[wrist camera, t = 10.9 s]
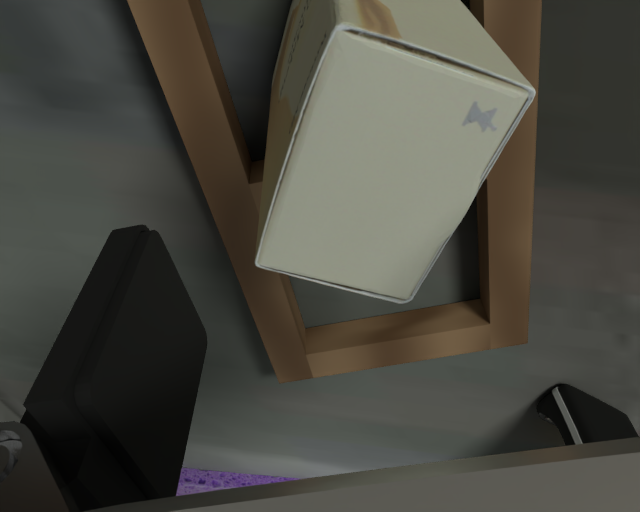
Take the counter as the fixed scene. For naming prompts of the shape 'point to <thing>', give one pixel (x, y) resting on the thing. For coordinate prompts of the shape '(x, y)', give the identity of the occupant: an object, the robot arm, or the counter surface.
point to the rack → (246, 188)
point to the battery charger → (583, 417)
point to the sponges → (219, 481)
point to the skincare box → (380, 139)
